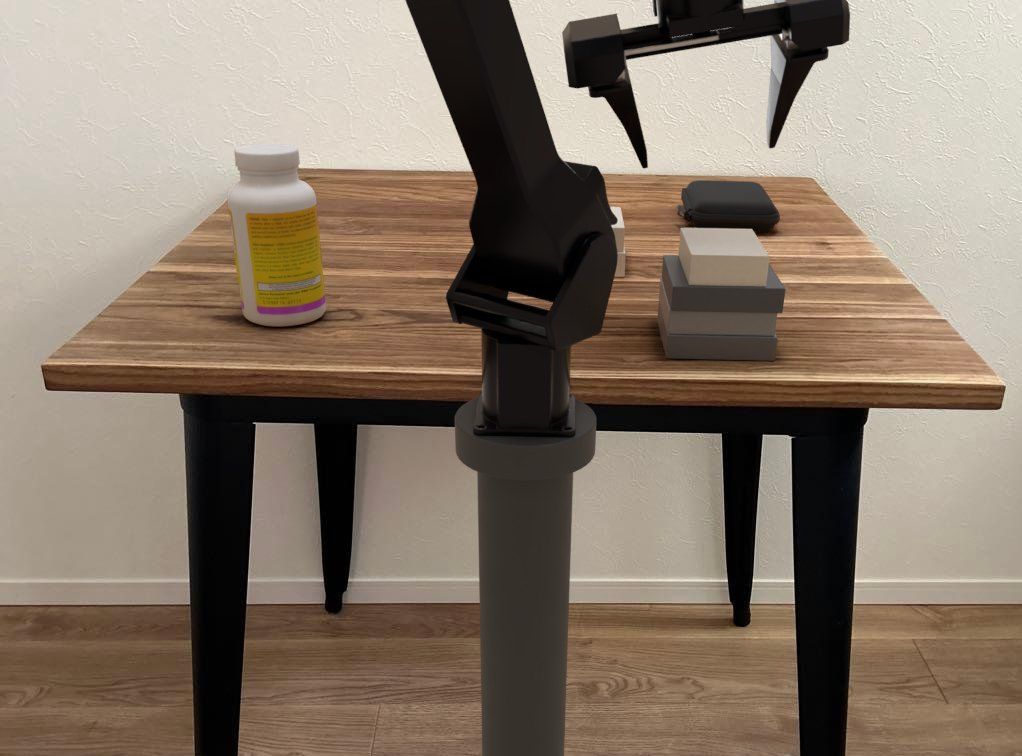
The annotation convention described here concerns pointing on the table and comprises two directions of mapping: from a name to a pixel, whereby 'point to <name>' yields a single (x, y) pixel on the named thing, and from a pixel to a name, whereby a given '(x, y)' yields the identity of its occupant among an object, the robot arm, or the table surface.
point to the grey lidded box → (717, 317)
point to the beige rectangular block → (723, 257)
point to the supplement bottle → (275, 238)
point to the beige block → (619, 241)
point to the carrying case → (728, 205)
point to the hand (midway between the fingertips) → (707, 156)
